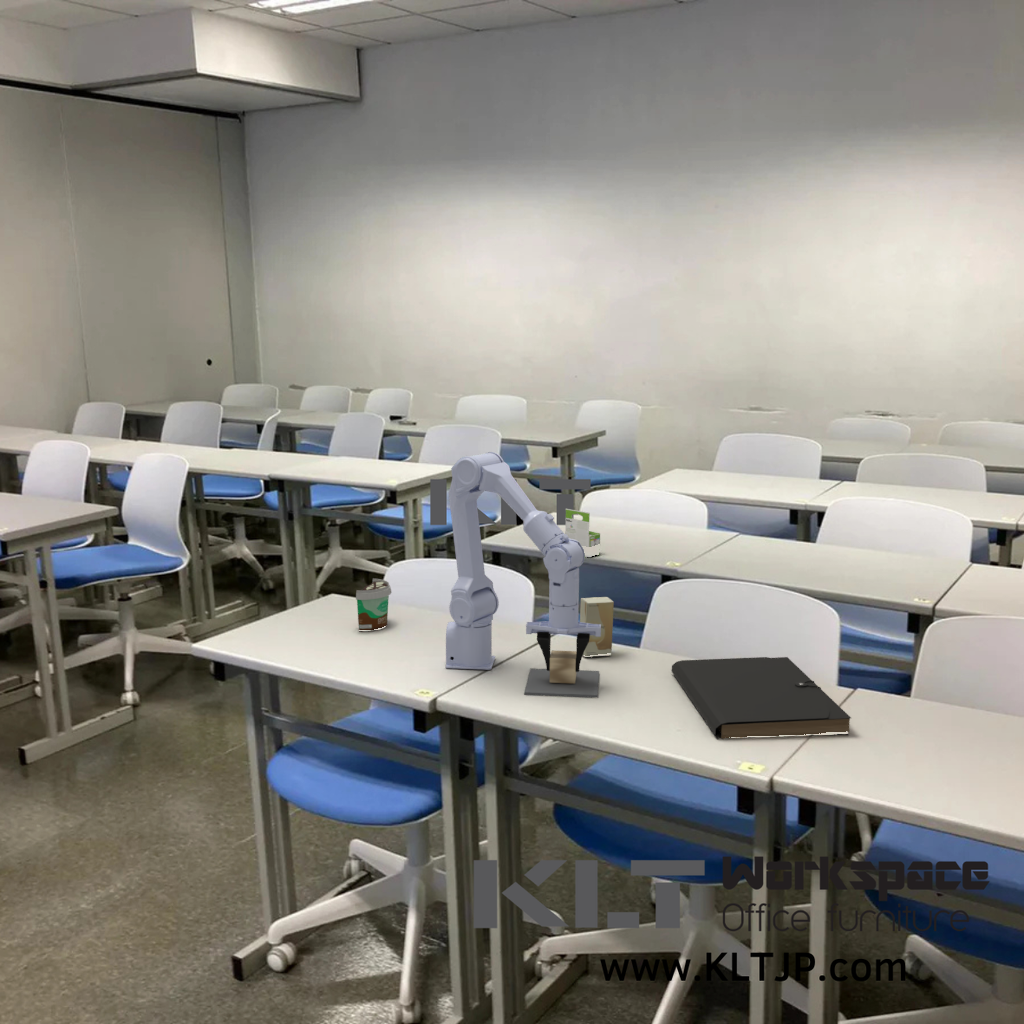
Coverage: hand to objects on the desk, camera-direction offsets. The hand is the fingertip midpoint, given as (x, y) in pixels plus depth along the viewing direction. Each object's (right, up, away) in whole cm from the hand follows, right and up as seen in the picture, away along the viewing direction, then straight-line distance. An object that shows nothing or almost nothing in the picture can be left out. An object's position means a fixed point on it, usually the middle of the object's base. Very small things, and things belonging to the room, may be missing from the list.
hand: (562, 669), depth 205 cm
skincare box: (+8, 0, +19) cm, 20 cm away
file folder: (+36, -6, -9) cm, 37 cm away
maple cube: (0, -2, +1) cm, 2 cm away
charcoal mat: (0, -3, +1) cm, 3 cm away
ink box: (+12, +18, +114) cm, 116 cm away
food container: (-41, +4, +38) cm, 56 cm away
